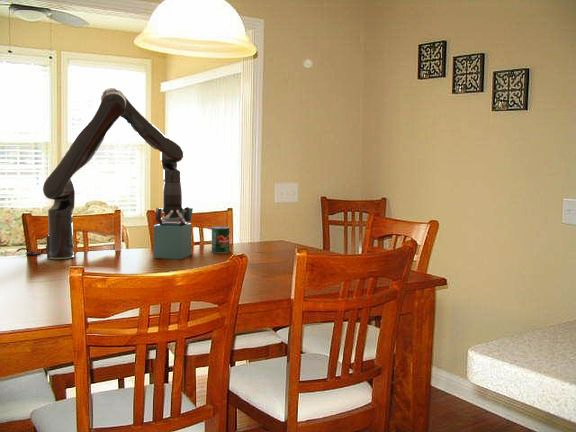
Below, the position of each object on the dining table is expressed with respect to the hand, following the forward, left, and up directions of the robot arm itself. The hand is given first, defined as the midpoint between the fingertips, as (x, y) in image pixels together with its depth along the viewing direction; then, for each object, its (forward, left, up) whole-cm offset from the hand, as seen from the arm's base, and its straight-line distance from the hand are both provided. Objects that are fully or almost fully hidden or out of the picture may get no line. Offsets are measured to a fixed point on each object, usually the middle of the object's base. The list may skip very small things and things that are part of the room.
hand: (172, 232), depth 252 cm
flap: (0, +7, +7) cm, 10 cm away
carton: (0, 0, -10) cm, 10 cm away
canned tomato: (+16, +16, -10) cm, 25 cm away
